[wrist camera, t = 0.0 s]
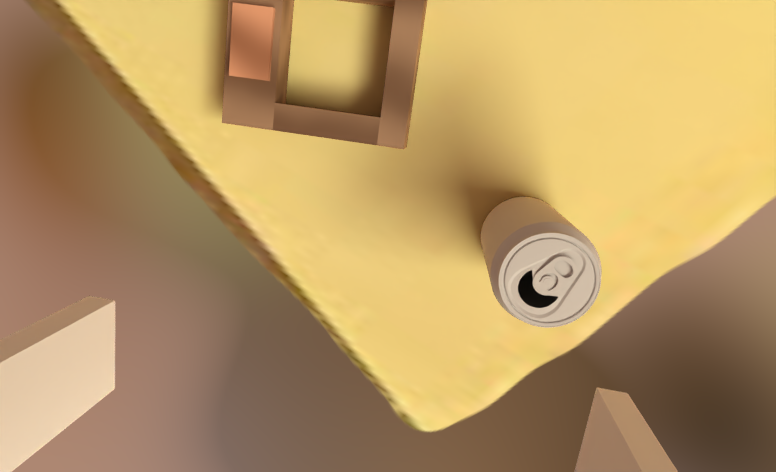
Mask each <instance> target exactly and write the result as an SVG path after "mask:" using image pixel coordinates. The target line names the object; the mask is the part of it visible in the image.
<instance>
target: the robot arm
mask: <svg viewBox="0 0 776 472" xmlns="http://www.w3.org/2000/svg"><path fill="white" fill-rule="evenodd" d="M113 389H115V301H114V300H110V299H104V298H99V297H93V296H88V297H86V298H84V299H82V300H80V301H78V302H76V303H74V304H72V305H70V306H68V307H66V308H64V309H62V310H60V311H58V312H56V313H54V314H51V315H49V316H47V317H45V318H43V319H41V320H39V321H37V322H35V323H33V324H31V325H29V326H27V327H25V328H23V329H21V330H19V331H17V332H15V333H13V334H11V335H9V336H7V337H5V338H2V339H0V472H12V471H13V470H14V469H15V468H17V467H18V466H19V465H20V464H21V463H23V462H24V461H25V460H27V459H28V458H29V457H30V456H32V455H33V454H34V453H35V452H37V451H38V450H39V449H40V448H41V447H43V446H44V445H45V444H46V443H48V442H49V441H50V440H52V438H54V437H55V436H56V435H58V434H59V433H60V432H61V431H63V430H64V429H65V428H66V427H68V426H69V425H70V424H71V423H73V422H74V421H75V420H76V419H78V418H79V417H80V416H81V415H83V414H84V413H85V412H86V411H88V410H89V409H90V408H91V407H93V406H94V405H95V404H96V403H97V402H99V401H100V400H101V399H103V398H104V397H105V396H106V395H108V394H109V393H110V392H111V391H113ZM575 472H678V471H677V470H676V468H675V467H674V465H673V464H672V462H671V461H670V459H669V457H668V456H667V454H666V453H665V451H664V450H663V448H662V446H661V445H660V443H659V442H658V440H657V438H656V437H655V435H654V434H653V432H652V431H651V429H650V428H649V426H648V424H647V423H646V422H645V420H644V418H643V417H642V415H641V414H640V412H639V411H638V409H637V407H636V406H635V404H634V403H633V401H632V399H631V398H630V396H629V395H628V393H624V392H618V391H613V390H607V389H602V388H597V389H596V392H595V396H594V400H593V404H592V408H591V412H590V415H589V419H588V423H587V427H586V430H585V435H584V438H583V442H582V446H581V450H580V453H579V457H578V461H577V465H576V469H575Z"/></svg>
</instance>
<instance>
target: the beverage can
mask: <svg viewBox="0 0 776 472" xmlns="http://www.w3.org/2000/svg"><path fill="white" fill-rule="evenodd" d="M481 245H482V249H483V253H484V257H485V261H486V265H487V269H488V273H489V277H490V281H491V285H492V289H493V292H494V295H495V297H496V299H497V300H498V302H499V303H500V305H501V306H502V307H503V308H504V309H505V310H506V311H507V312H508V313H510V314H511V315H512V316H514V317H516V318H517V319H519V320H522V321H524V322H525V323H528V324H531V325H534V326H538V327H558V326H562V325H566V324H569V323H571V322H573V321H575V320H577V319H578V318H580V317H581V316H583V315H584V314H585V313H586V312H587V311H588V310H589V309H590V307H591V306H592V305H593V303H594V302H595V300H596V298H597V295H598V293H599V289H600V284H601V263H600V259H599V255H598V253H597V251H596V249H595V247H594V245H593V244H592V243H591V241H590V240H589V239H588V238H587V237H586V236H585V235H584V234H583V233H582V232H580V231H579V230H578V229H577V228H576V227H575V226H573V225H572V224H571V223H570V222H569V221H568V220H566V219H565V218H564V217H563V216H562V215H561V214H559V213H558V212H557V211H556V210H555V209H554V208H552V207H551V206H550V205H549V204H547V203H546V202H544V201H542V200H539V199H536V198H532V197H515V198H511V199H508V200H506V201H504V202H502V203H500V204H499V205H497V206H496V207H495V208H494V209H493V210H492V211H491V212H490V213H489V214H488V216H487V217H486V219H485V221H484V223H483V226H482V230H481Z"/></svg>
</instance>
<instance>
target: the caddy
mask: <svg viewBox="0 0 776 472" xmlns="http://www.w3.org/2000/svg"><path fill="white" fill-rule="evenodd" d="M339 1H348V2H356V3H364V4H373V5H381V6H389V7H394V15H393V23H392V30H391V38H390V46H389V54H388V62H387V70H386V78H385V85H384V93H383V101H382V109H381V117H376V116H369V115H362V114H355V113H348V112H341V111H333V110H326V109H319V108H312V107H305V106H298V105H291V104H286V92H287V80H288V67H289V55H290V43H291V31H292V19H293V6H294V0H229V1H228V20H227V39H226V58H225V77H224V96H223V115H222V123H227V124H234V125H241V126H248V127H255V128H262V129H269V130H276V131H283V132H290V133H296V134H303V135H310V136H317V137H324V138H331V139H338V140H345V141H352V142H358V143H365V144H372V145H379V146H386V147H393V148H400V149H404V148H406V147H407V140H408V133H409V126H410V119H411V112H412V105H413V98H414V90H415V83H416V76H417V69H418V62H419V55H420V48H421V41H422V34H423V27H424V20H425V13H426V6H427V0H339Z"/></svg>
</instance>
